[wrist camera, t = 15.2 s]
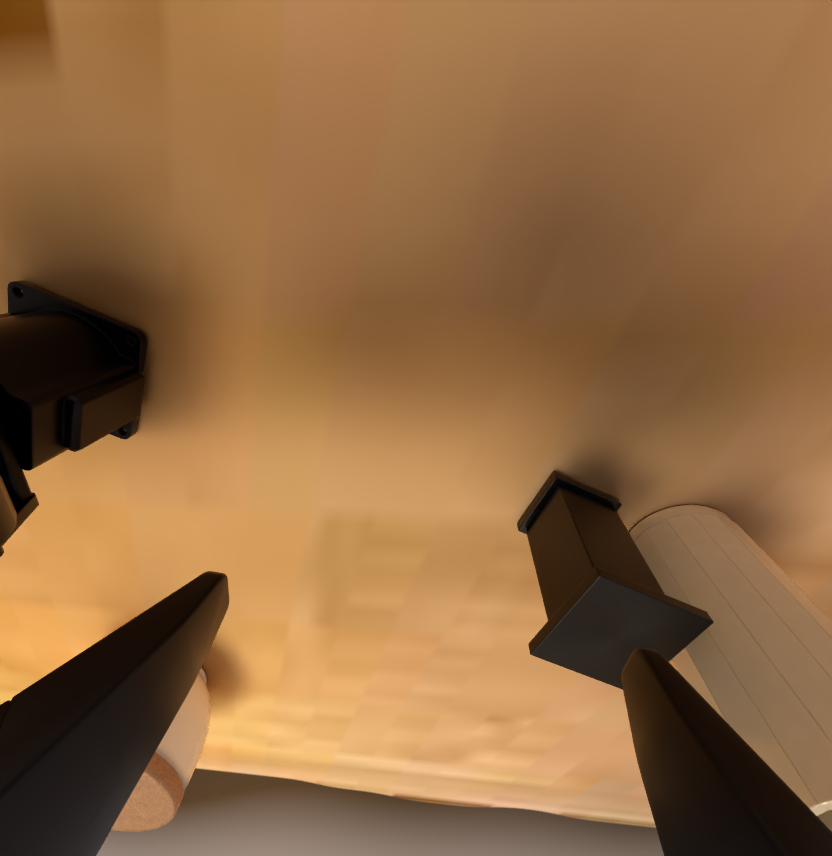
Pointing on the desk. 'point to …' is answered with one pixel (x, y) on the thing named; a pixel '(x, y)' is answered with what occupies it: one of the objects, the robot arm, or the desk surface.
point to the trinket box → (170, 765)
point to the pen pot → (750, 643)
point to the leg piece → (598, 586)
